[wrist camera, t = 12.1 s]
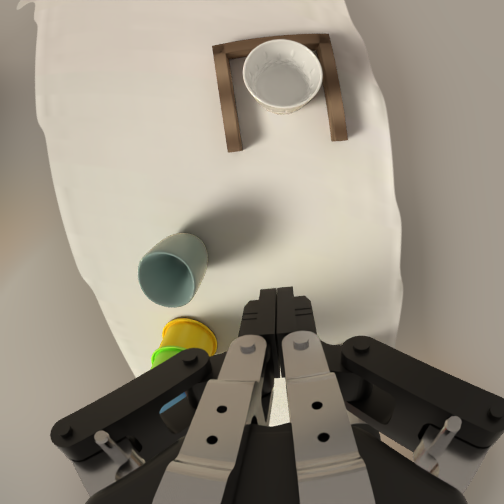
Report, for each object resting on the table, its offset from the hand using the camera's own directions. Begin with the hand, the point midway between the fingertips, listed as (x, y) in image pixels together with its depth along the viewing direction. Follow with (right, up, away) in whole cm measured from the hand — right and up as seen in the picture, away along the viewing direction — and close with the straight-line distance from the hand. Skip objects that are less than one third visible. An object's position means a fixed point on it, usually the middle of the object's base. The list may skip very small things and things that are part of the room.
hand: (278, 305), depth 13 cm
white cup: (+3, +24, +19) cm, 31 cm away
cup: (-11, +3, +29) cm, 31 cm away
